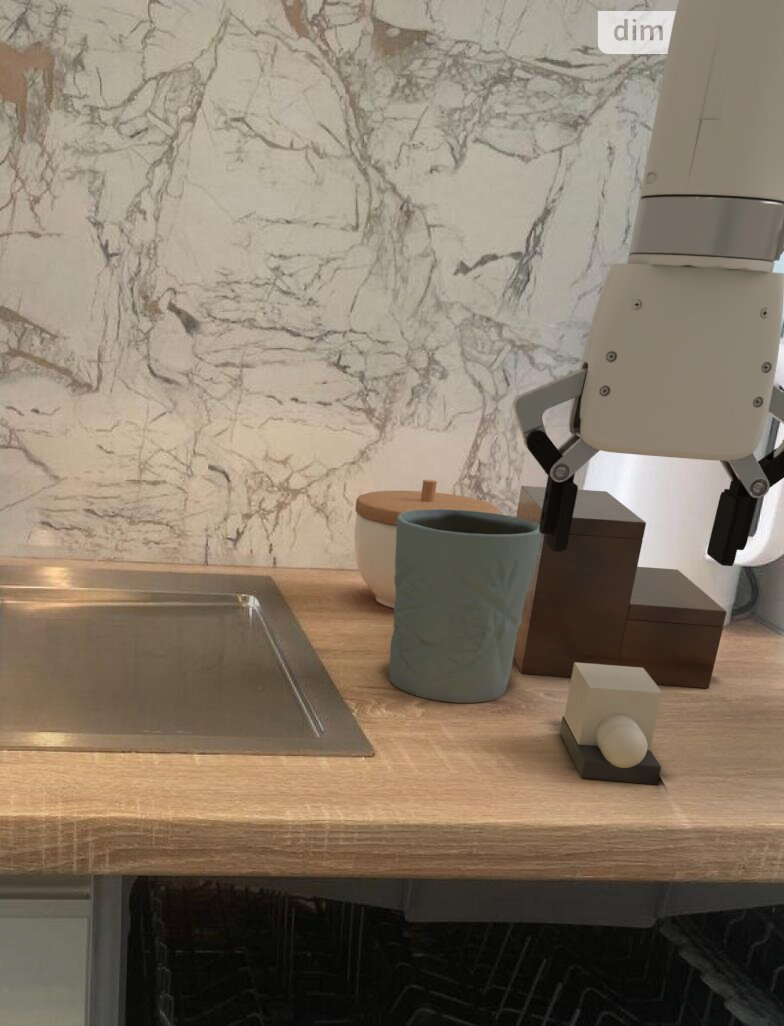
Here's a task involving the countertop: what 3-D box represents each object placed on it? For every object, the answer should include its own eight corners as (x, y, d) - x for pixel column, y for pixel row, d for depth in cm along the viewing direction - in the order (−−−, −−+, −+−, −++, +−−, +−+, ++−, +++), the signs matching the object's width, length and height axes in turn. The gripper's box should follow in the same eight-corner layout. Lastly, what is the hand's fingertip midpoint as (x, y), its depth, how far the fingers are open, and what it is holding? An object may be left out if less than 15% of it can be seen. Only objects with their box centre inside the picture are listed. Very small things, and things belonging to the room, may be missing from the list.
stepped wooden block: (663, 638, 103) (693, 497, 98) (709, 688, 90) (746, 529, 85) (498, 625, 104) (521, 485, 99) (520, 673, 91) (547, 515, 87)
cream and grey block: (559, 732, 79) (572, 661, 77) (628, 738, 79) (643, 666, 77) (583, 783, 71) (599, 704, 69) (660, 790, 71) (678, 711, 69)
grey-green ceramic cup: (406, 707, 83) (428, 534, 78) (359, 663, 92) (376, 505, 87) (540, 704, 85) (570, 535, 80) (481, 661, 94) (505, 507, 89)
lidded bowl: (508, 619, 106) (528, 493, 102) (376, 622, 103) (391, 492, 99) (448, 585, 117) (464, 470, 113) (327, 586, 114) (338, 468, 110)
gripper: (842, 252, 67) (764, 554, 74) (532, 233, 69) (484, 530, 76) (899, 248, 60) (808, 581, 67) (553, 227, 62) (498, 554, 69)
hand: (636, 554), depth 72 cm, fingers open, 9 cm apart
